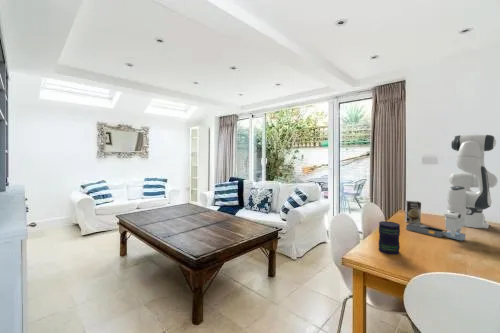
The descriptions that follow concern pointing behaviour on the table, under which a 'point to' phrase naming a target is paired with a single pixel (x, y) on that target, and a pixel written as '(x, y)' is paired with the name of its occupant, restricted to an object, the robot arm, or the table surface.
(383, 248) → the storage jar
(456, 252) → the table surface
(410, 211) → the coffee box
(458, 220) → the robot arm
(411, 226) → the rack
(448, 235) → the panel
